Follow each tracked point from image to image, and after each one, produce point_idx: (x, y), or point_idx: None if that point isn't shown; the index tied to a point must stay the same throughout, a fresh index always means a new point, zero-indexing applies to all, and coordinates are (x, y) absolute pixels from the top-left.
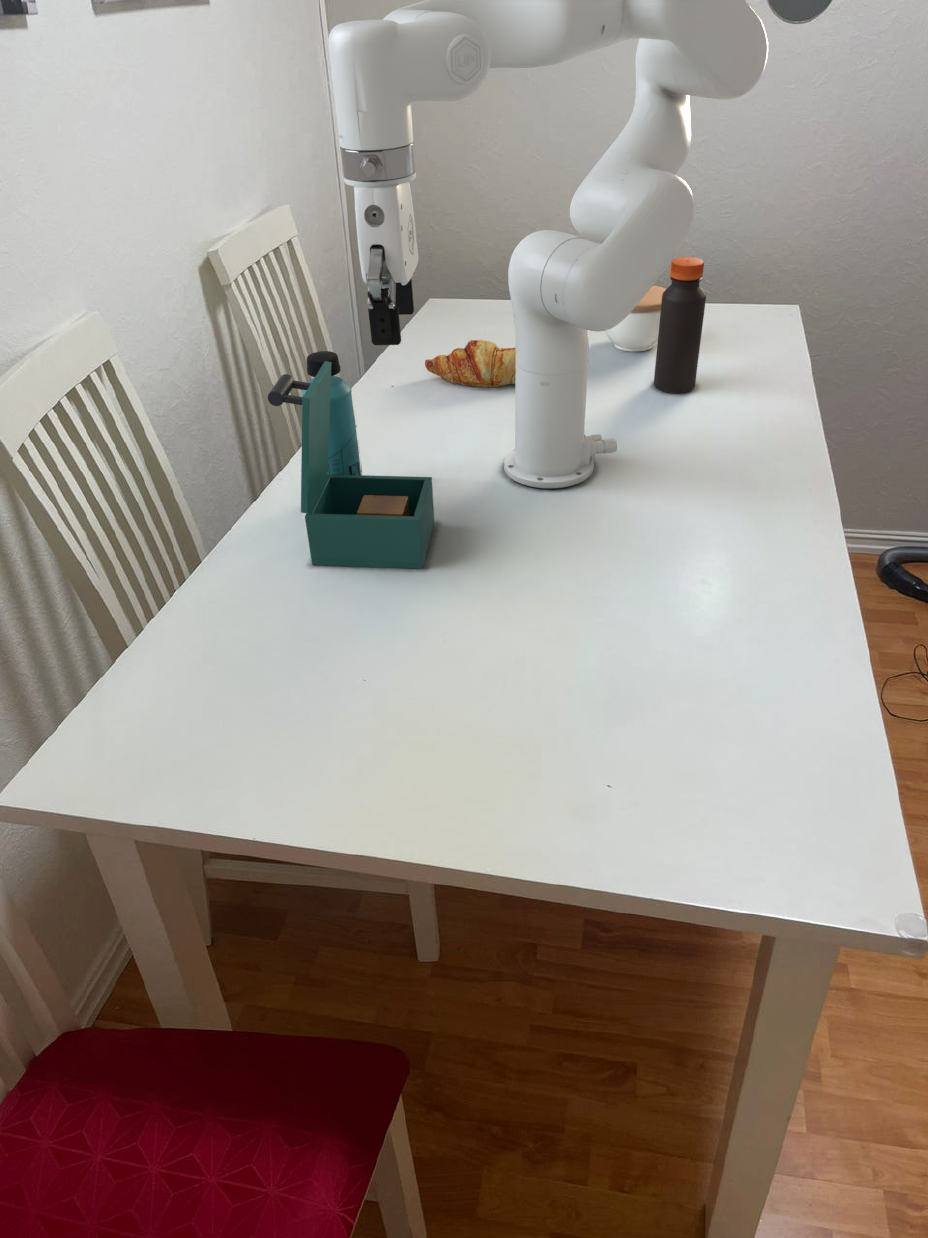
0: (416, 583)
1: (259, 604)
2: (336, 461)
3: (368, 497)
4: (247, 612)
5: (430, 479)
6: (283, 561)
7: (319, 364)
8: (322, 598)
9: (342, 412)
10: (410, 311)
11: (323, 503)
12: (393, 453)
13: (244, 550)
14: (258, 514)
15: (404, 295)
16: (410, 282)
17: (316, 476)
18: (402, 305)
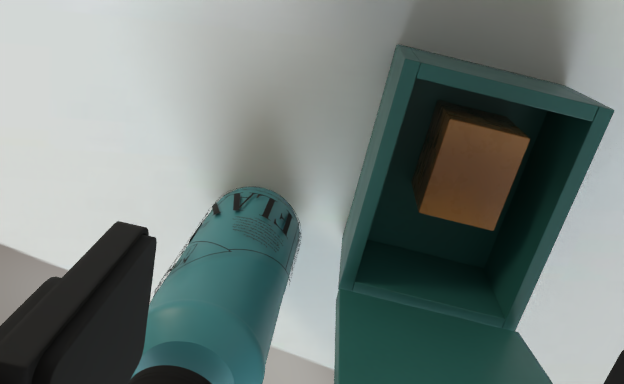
0: (611, 102)
1: (580, 349)
2: (289, 268)
3: (432, 204)
4: (597, 364)
5: (419, 63)
6: None
7: None
8: (599, 262)
9: (257, 307)
10: (152, 248)
11: (423, 287)
12: (70, 104)
13: None
14: (295, 349)
15: (106, 338)
16: (39, 354)
17: (456, 336)
18: (130, 311)
